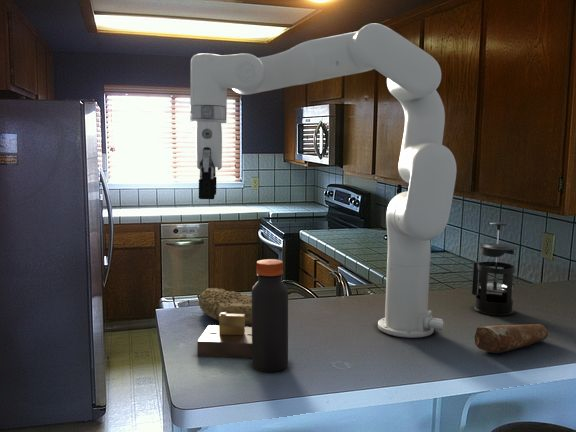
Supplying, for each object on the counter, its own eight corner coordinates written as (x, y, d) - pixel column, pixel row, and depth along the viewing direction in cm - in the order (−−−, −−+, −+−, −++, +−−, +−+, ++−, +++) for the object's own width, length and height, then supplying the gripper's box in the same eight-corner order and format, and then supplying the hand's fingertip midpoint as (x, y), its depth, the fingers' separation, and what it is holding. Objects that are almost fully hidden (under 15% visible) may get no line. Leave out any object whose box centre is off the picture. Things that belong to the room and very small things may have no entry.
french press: (523, 313, 142) (529, 223, 139) (499, 319, 137) (505, 226, 134) (484, 302, 152) (490, 218, 149) (461, 307, 147) (466, 220, 144)
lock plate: (264, 340, 119) (264, 326, 119) (257, 358, 109) (258, 343, 109) (208, 338, 120) (208, 324, 120) (197, 355, 110) (197, 340, 110)
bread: (470, 350, 116) (472, 323, 115) (532, 336, 125) (534, 312, 124) (495, 360, 110) (496, 333, 110) (557, 345, 119) (559, 320, 119)
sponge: (193, 316, 139) (212, 324, 120) (197, 285, 140) (217, 288, 121) (243, 321, 143) (269, 329, 125) (247, 291, 144) (273, 294, 126)
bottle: (259, 375, 101) (259, 267, 99) (247, 362, 107) (246, 259, 105) (293, 369, 104) (294, 263, 102) (279, 356, 110) (279, 256, 108)
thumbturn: (244, 332, 115) (244, 312, 114) (243, 335, 113) (243, 315, 113) (220, 331, 115) (220, 311, 115) (219, 334, 114) (219, 314, 113)
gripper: (225, 113, 109) (224, 201, 111) (227, 118, 126) (226, 193, 128) (186, 112, 108) (186, 200, 110) (193, 117, 125) (193, 193, 127)
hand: (207, 196), depth 119 cm, fingers open, 9 cm apart
